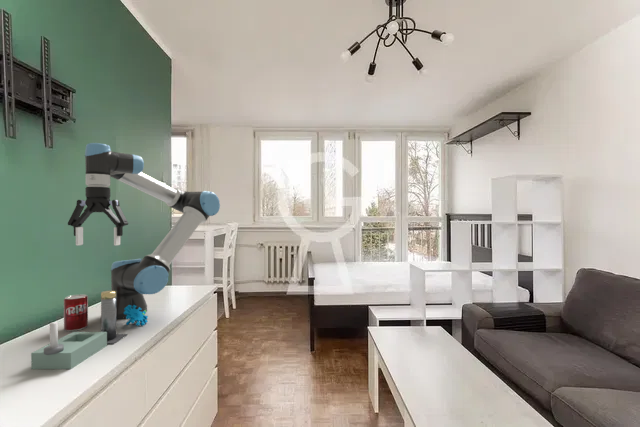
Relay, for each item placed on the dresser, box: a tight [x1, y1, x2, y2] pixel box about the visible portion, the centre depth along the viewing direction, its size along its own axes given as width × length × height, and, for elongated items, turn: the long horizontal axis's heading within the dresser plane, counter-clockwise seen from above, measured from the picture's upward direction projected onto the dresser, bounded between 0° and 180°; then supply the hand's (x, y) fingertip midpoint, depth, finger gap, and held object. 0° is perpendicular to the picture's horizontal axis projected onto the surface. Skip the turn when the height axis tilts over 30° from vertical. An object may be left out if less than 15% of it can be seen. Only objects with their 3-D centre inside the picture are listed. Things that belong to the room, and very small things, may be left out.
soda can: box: [63, 293, 89, 332], centre depth 124 cm, size 7×7×12 cm
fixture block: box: [30, 321, 108, 370], centre depth 100 cm, size 17×11×12 cm, turn 1°
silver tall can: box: [100, 289, 117, 341], centre depth 113 cm, size 4×4×16 cm
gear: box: [124, 305, 149, 327], centre depth 129 cm, size 11×6×10 cm
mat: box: [107, 333, 128, 345], centre depth 113 cm, size 8×8×1 cm
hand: (98, 245), depth 120 cm, fingers open, 13 cm apart
